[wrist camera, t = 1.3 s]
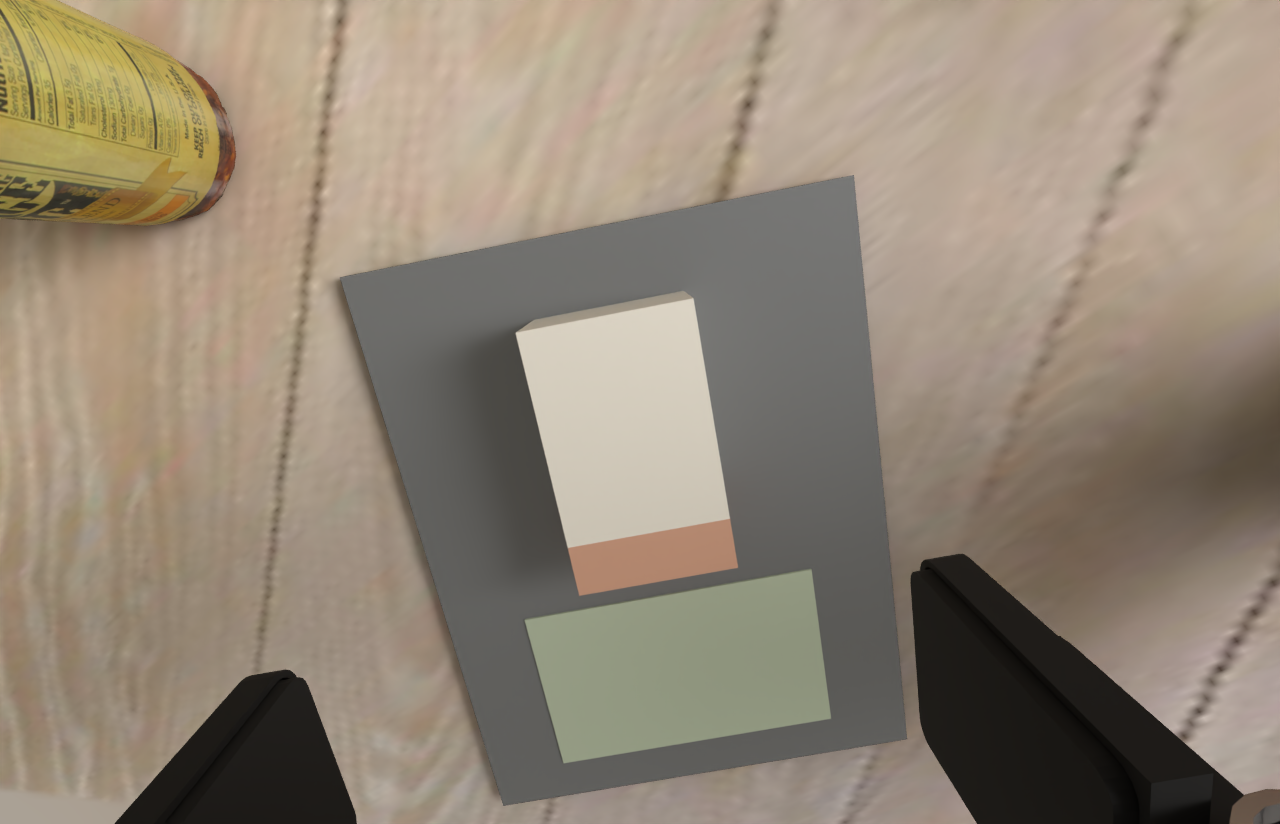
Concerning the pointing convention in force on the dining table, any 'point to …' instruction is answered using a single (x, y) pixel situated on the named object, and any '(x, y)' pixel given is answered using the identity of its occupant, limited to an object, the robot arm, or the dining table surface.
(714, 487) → the card box
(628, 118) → the dining table surface
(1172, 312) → the dining table surface
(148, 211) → the sauce bottle
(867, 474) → the mat
